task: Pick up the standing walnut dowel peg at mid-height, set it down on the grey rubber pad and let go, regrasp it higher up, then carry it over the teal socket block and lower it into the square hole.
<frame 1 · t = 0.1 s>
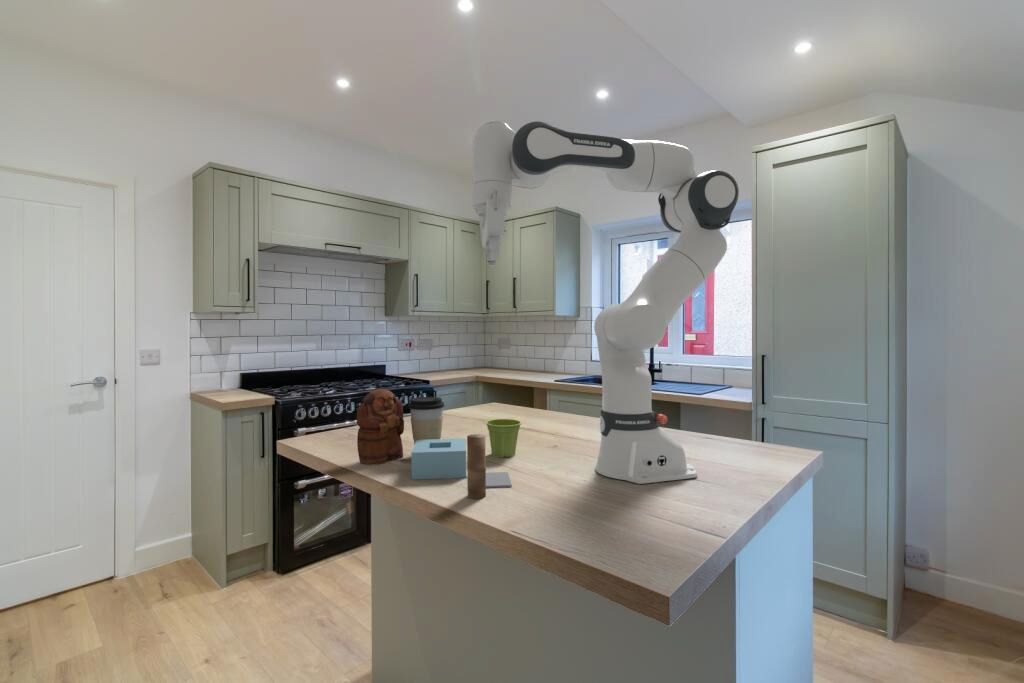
hand: (492, 262, 107), 48 cm above the table, fingers open, 8 cm apart
plant pot: (503, 455, 127), on the table
peg: (476, 495, 97), on the table
wooden figurine: (382, 460, 123), on the table
coffee cup: (427, 456, 126), on the table
pad: (489, 480, 106), on the table
socket: (440, 470, 114), on the table
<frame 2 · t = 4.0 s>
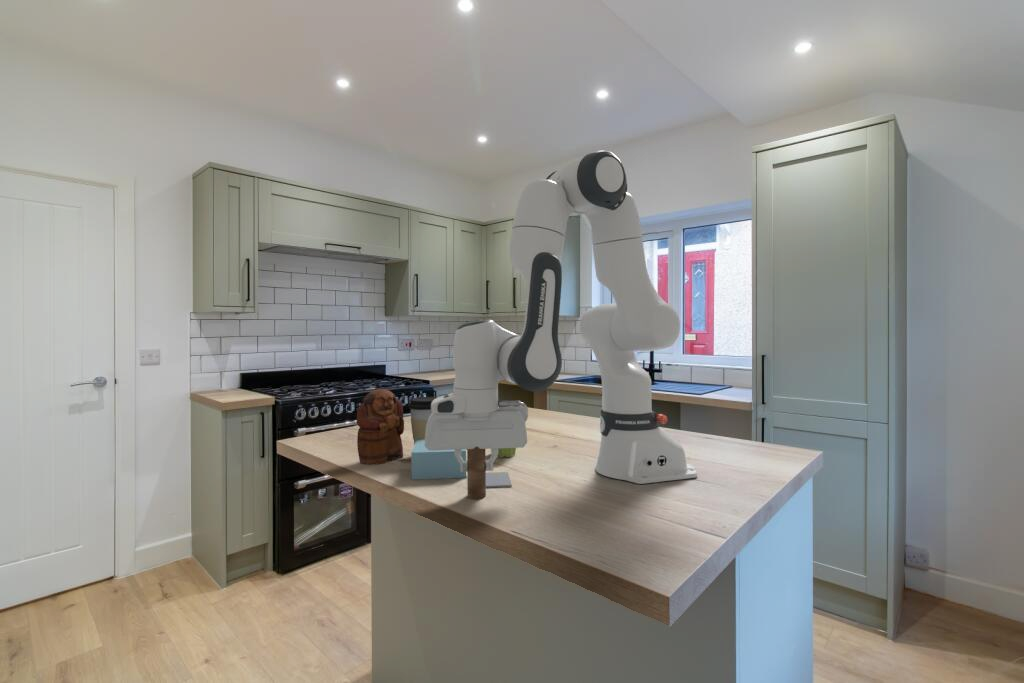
hand: (476, 470, 96), 5 cm above the table, fingers closed on peg, 4 cm apart
peg: (476, 495, 97), on the table, touching gripper
everything else where it was.
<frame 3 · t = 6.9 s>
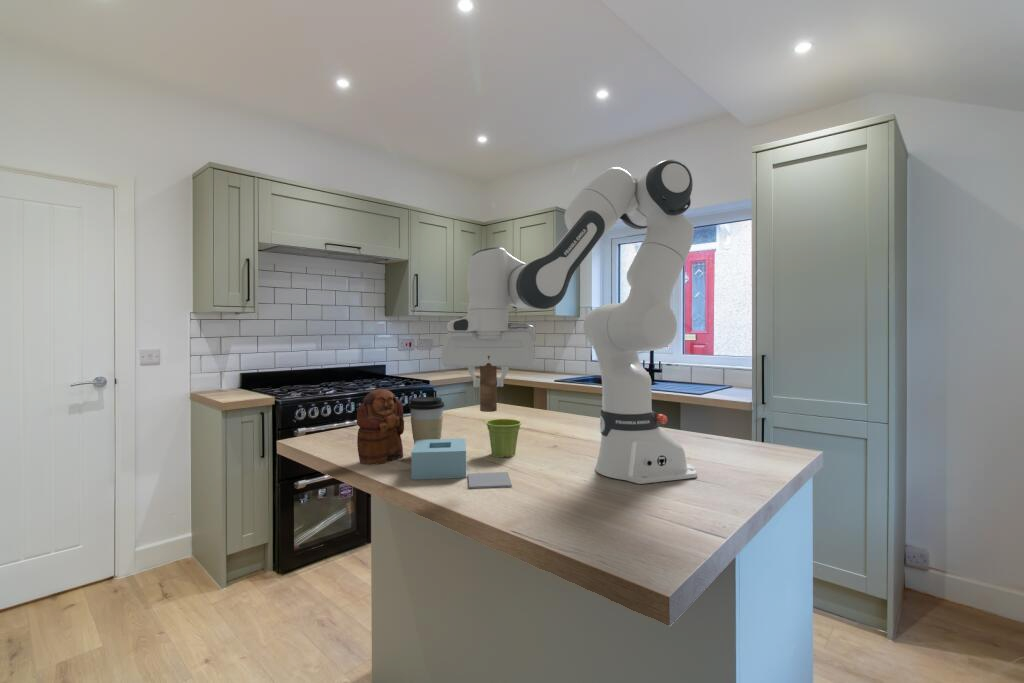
hand: (488, 386, 105), 21 cm above the table, fingers closed on peg, 4 cm apart
peg: (488, 410, 105), point 16 cm above the table, touching gripper
everything else where it was.
when the fingers open (6 cm above the table, at t = 9.7 s): peg stays where it is, resting on pad.
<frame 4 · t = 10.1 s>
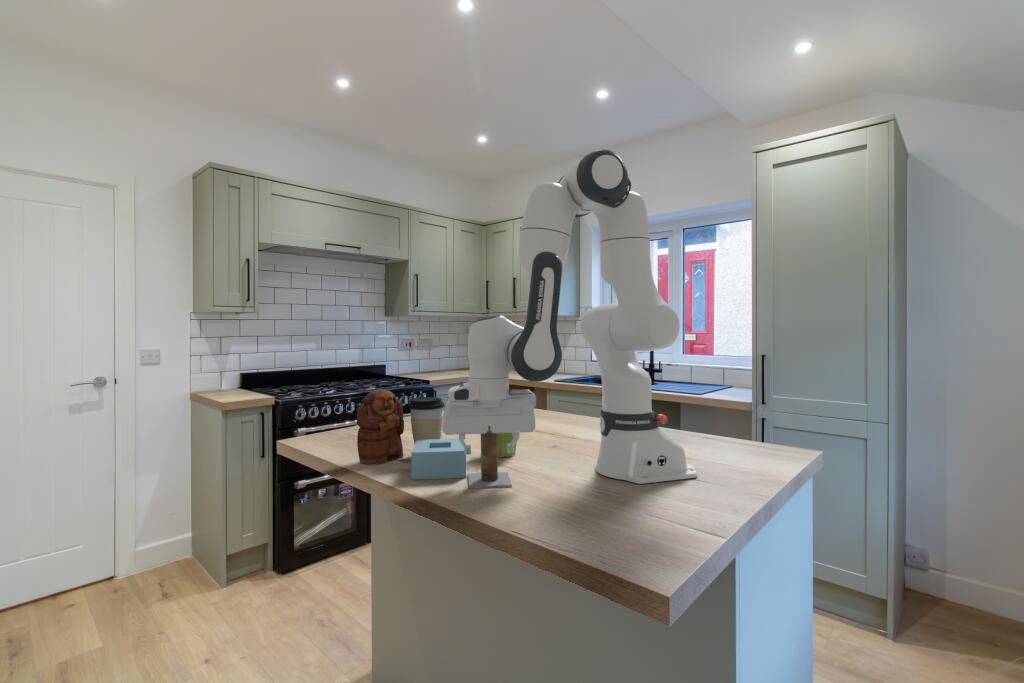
hand: (489, 453, 106), 6 cm above the table, fingers open, 8 cm apart
peg: (489, 479, 106), resting on pad
everything else where it was.
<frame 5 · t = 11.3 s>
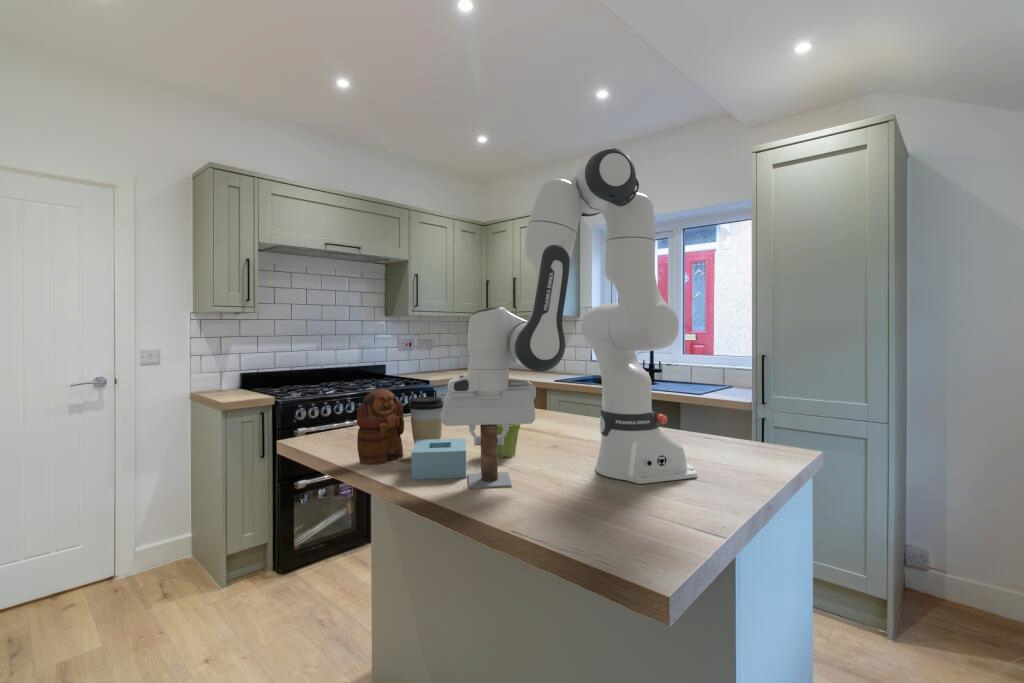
hand: (488, 444, 105), 8 cm above the table, fingers closed on peg, 4 cm apart
peg: (489, 479, 106), resting on pad, touching gripper
everything else where it was.
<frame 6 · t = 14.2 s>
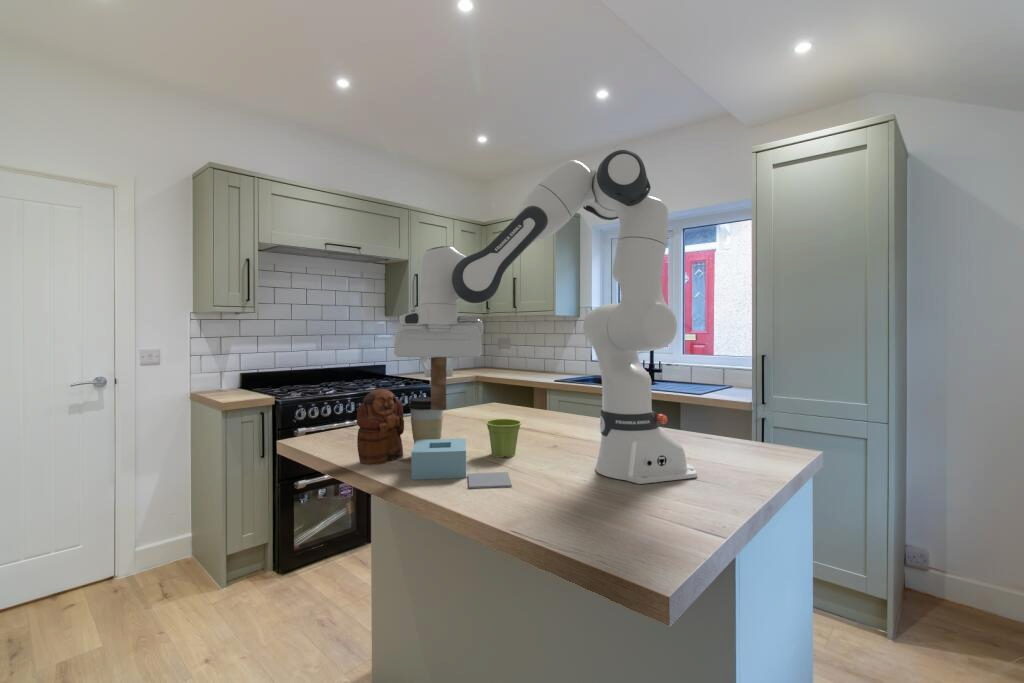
hand: (438, 376, 113), 22 cm above the table, fingers closed on peg, 4 cm apart
peg: (438, 408, 113), point 15 cm above the table, touching gripper
everything else where it was.
when the fingers open (8 cm above the table, at t = 16.8 s): peg stays where it is, resting in socket.
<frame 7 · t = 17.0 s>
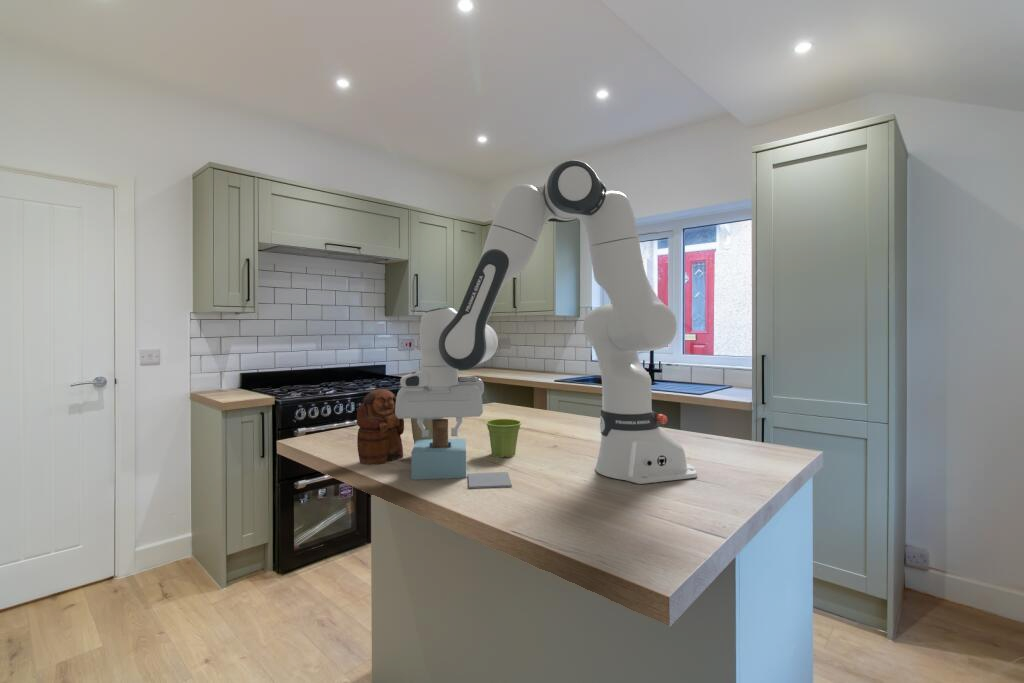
hand: (440, 436, 113), 8 cm above the table, fingers open, 5 cm apart
peg: (440, 470, 113), resting in socket
everything else where it was.
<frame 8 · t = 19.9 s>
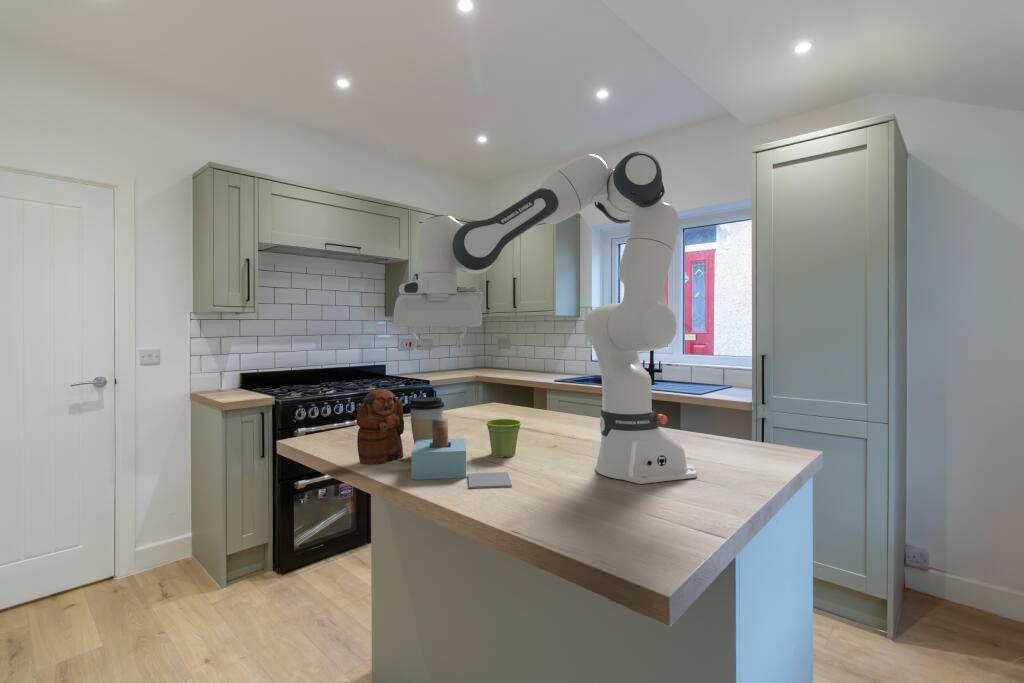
hand: (438, 346, 113), 29 cm above the table, fingers open, 8 cm apart
nothing on the table moved.
at the end: peg 0.2 cm off-centre on the socket, point 0.0 cm above the socket's base; peg tilted 0°; the gripper is holding nothing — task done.
